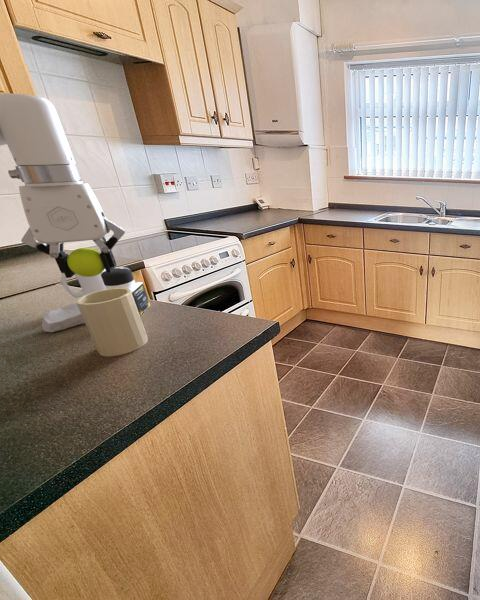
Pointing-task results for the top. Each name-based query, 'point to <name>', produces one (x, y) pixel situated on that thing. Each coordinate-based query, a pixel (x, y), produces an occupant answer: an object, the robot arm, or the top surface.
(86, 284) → the mug
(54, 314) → the soap bar
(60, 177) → the robot arm
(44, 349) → the top surface
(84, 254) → the ball
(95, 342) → the beige octagonal cup
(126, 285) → the medicine bottle
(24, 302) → the top surface
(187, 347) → the top surface
